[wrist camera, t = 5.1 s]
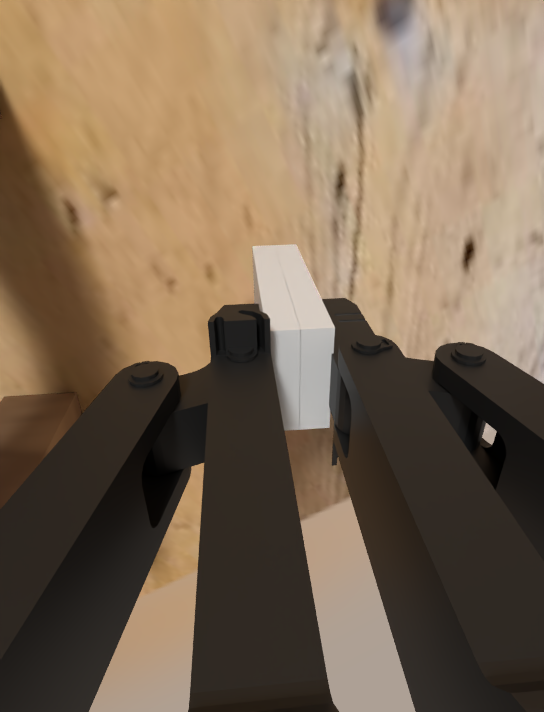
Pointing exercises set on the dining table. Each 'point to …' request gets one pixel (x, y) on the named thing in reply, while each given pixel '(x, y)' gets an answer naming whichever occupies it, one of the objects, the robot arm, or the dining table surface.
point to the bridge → (31, 433)
